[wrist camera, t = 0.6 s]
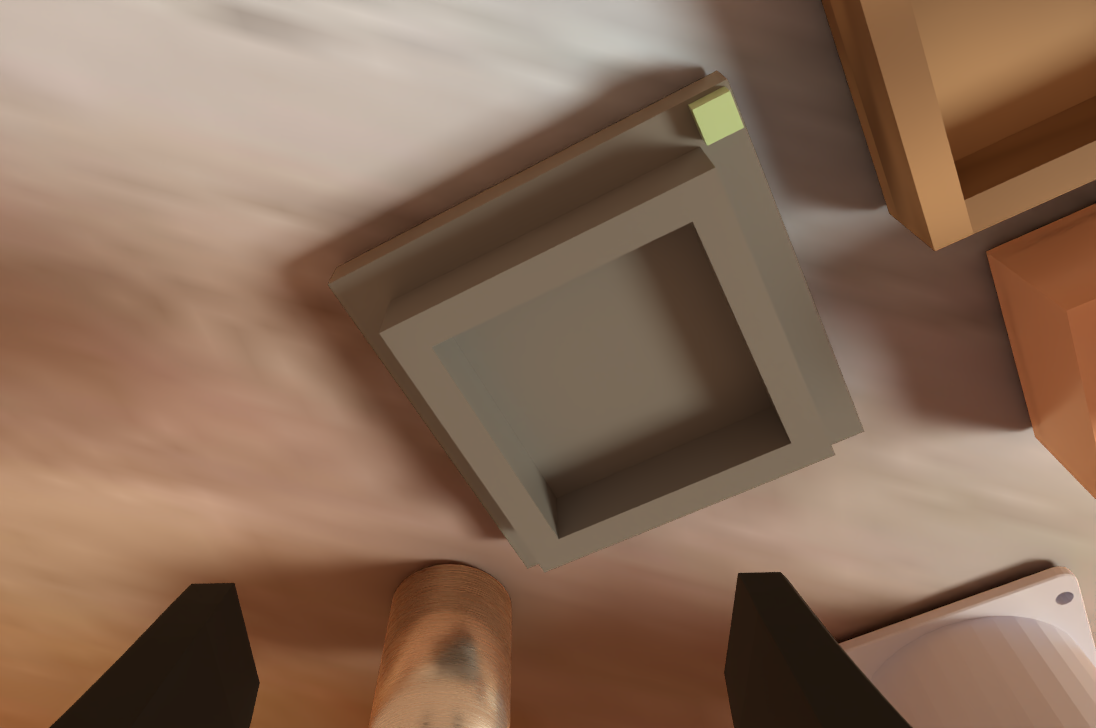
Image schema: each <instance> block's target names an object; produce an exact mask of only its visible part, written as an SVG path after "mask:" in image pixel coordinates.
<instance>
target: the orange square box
mask: <svg viewBox="0 0 1096 728" xmlns="http://www.w3.org/2000/svg"><path fill="white" fill-rule="evenodd" d="M986 253H987V257H988V261H989V265H990V269H991V272H992V276H993V280H994V284H995V287H996V291H997V295H998V299H999V302H1000V306H1001V310H1002V314H1003V318H1004V321H1005V325H1006V329H1007V333H1008V336H1009V340H1010V344H1011V348H1012V352H1013V355H1014V359H1015V363H1016V367H1017V370H1018V374H1019V378H1020V382H1021V386H1022V389H1023V393H1024V397H1025V401H1026V404H1027V408H1028V412H1029V416H1030V419H1031V423H1032V427H1033V431H1034V435H1035V437H1036V438H1037V439H1038V440H1039V441H1040V442H1041V443H1042V445H1043V446H1044V447H1045V448H1046V449H1047V450H1048V451H1049V452H1050V453H1051V454H1052V455H1053V456H1054V457H1055V458H1056V459H1057V460H1058V461H1059V462H1060V463H1061V464H1062V465H1063V466H1064V467H1065V468H1066V469H1067V470H1068V471H1069V472H1070V473H1071V474H1072V475H1073V476H1074V477H1075V478H1076V479H1077V481H1078V482H1079V483H1080V484H1081V485H1082V486H1083V487H1084V488H1085V489H1086V490H1087V491H1088V492H1089V493H1090V494H1091V495H1092V496H1093V497H1094V498H1095V499H1096V204H1093V205H1091V206H1089V207H1086V208H1084V209H1082V210H1080V211H1077V212H1075V213H1073V214H1070V215H1068V216H1066V217H1064V218H1061V219H1059V220H1057V221H1055V222H1052V223H1050V224H1048V225H1045V226H1043V227H1041V228H1039V229H1036V230H1034V231H1032V232H1030V233H1027V234H1025V235H1023V236H1020V237H1018V238H1016V239H1014V240H1011V241H1009V242H1007V243H1005V244H1002V245H1000V246H998V247H995V248H993V249H991V250H989V251H986Z"/></svg>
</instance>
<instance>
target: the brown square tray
mask: <svg viewBox="0 0 1096 728" xmlns="http://www.w3.org/2000/svg"><path fill="white" fill-rule="evenodd" d="M821 1H822V4H823V7H824V10H825V14H826V17H827V20H828V23H829V26H830V29H831V32H832V35H833V39H834V42H835V45H836V48H837V51H838V54H839V57H840V60H841V64H842V67H843V70H844V73H845V76H846V79H847V82H848V86H849V89H850V92H851V95H852V98H853V101H854V104H855V107H856V111H857V114H858V117H859V120H860V123H861V126H862V129H863V132H864V136H865V139H866V142H867V145H868V148H869V151H870V154H871V158H872V161H873V164H874V167H875V170H876V173H877V176H878V179H879V183H880V186H881V189H882V192H883V195H884V198H885V201H886V205H887V208H888V211H889V214H890V215H892V216H893V217H894V218H895V219H896V220H898V221H899V222H900V223H901V224H903V225H904V226H905V227H906V228H907V229H909V230H910V231H911V232H912V233H913V234H915V235H916V236H917V237H918V238H919V239H921V240H922V241H923V242H924V243H925V244H927V245H928V246H929V247H930V248H932V249H933V250H934V251H937V250H939V249H941V248H943V247H946V246H948V245H950V244H952V243H955V242H957V241H959V240H961V239H964V238H966V237H968V236H970V235H973V234H975V233H977V232H979V231H982V230H984V229H986V228H988V227H991V226H993V225H995V224H997V223H1000V222H1002V221H1004V220H1006V219H1009V218H1011V217H1013V216H1015V215H1018V214H1020V213H1022V212H1024V211H1027V210H1029V209H1031V208H1033V207H1036V206H1038V205H1040V204H1042V203H1045V202H1047V201H1049V200H1051V199H1054V198H1056V197H1058V196H1060V195H1063V194H1065V193H1067V192H1069V191H1071V190H1074V189H1076V188H1078V187H1080V186H1083V185H1085V184H1087V183H1089V182H1092V181H1094V180H1096V0H821Z"/></svg>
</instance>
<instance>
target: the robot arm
mask: <svg viewBox="0 0 1096 728" xmlns="http://www.w3.org/2000/svg"><path fill="white" fill-rule="evenodd" d="M724 674H725V679H726V685H727V691H728V696H729V702H730V708H731V713H732V718H733V724H734V728H1096V648H1095V644H1094V640H1093V637H1092V633H1091V629H1090V625H1089V621H1088V617H1087V614H1086V610H1085V606H1084V602H1083V598H1082V594H1081V591H1080V587H1079V583H1078V580H1077V578H1076V577H1075V575H1074V574H1073V573H1072V572H1071V570H1070V569H1068V568H1066V567H1059V566H1058V567H1053V568H1049V569H1047V570H1044V571H1041V572H1038V573H1035V574H1033V575H1030V576H1027V577H1024V578H1021V579H1018V580H1016V581H1013V582H1010V583H1007V584H1004V585H1002V586H999V587H996V588H993V589H990V590H988V591H985V592H982V593H979V594H976V595H974V596H971V597H968V598H965V599H962V600H960V601H957V602H954V603H951V604H948V605H946V606H943V607H940V608H937V609H934V610H932V611H929V612H926V613H923V614H920V615H918V616H915V617H912V618H909V619H906V620H904V621H901V622H898V623H895V624H892V625H889V626H887V627H884V628H881V629H878V630H875V631H873V632H870V633H867V634H864V635H861V636H859V637H856V638H853V639H850V640H847V641H845V642H842V643H839V644H838V642H837V641H836V640H835V639H834V637H833V636H832V635H831V634H830V633H829V631H828V630H827V629H826V628H825V626H824V625H823V624H822V623H821V621H820V620H819V619H818V618H817V616H816V615H815V614H814V613H813V611H812V610H811V609H810V608H809V606H808V605H807V604H806V602H805V601H804V600H803V599H802V597H801V596H800V595H799V593H798V592H797V591H796V590H795V588H794V587H793V586H792V584H791V583H790V582H789V580H788V579H787V578H786V577H785V576H784V575H783V574H782V573H781V572H765V573H738V578H737V585H736V592H735V600H734V607H733V614H732V621H731V628H730V636H729V643H728V650H727V657H726V664H725V671H724ZM259 684H260V682H259V679H258V675H257V671H256V667H255V663H254V659H253V655H252V651H251V647H250V643H249V639H248V635H247V631H246V627H245V623H244V619H243V615H242V611H241V607H240V603H239V599H238V595H237V591H236V587H235V583H215V584H191V585H190V586H189V587H188V588H187V589H186V590H185V591H184V592H183V593H182V594H181V595H180V596H179V597H178V598H177V599H176V600H175V601H174V602H173V603H172V604H171V605H170V606H169V607H168V608H167V609H166V610H165V611H164V612H163V613H162V614H161V615H160V617H159V618H158V619H157V620H156V621H155V622H154V623H153V624H152V625H151V626H150V627H149V628H148V629H147V630H146V631H145V632H144V633H143V634H142V635H141V636H140V637H139V638H138V640H137V641H136V642H135V643H134V644H133V645H132V646H131V647H130V648H129V649H128V650H127V651H126V652H125V653H124V654H123V655H122V656H121V657H120V658H119V659H118V660H117V661H116V662H115V663H114V664H113V665H112V666H111V667H110V668H109V669H108V670H107V671H106V672H105V673H104V674H103V675H102V676H101V677H100V678H99V679H98V680H97V681H96V682H95V683H94V684H93V685H92V686H91V687H90V688H89V689H88V690H87V691H86V692H85V693H84V694H83V695H82V696H81V697H80V698H79V699H78V700H77V701H76V702H75V703H74V704H73V705H72V706H71V707H70V708H69V709H68V710H67V711H66V712H65V713H64V714H63V715H62V716H61V717H60V718H59V719H58V720H57V721H56V722H55V723H54V724H53V725H52V726H50V727H49V728H249V727H250V723H251V719H252V715H253V710H254V706H255V701H256V697H257V692H258V688H259Z"/></svg>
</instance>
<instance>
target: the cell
mask: <svg viewBox="0 0 1096 728" xmlns="http://www.w3.org/2000/svg"><path fill="white" fill-rule="evenodd" d="M511 632H512V604H511V600H510V597H509V595H508V593H507V591H506V590H505V588H504V587H503V586H502V584H501V583H500V582H499V581H497V580H496V579H495V578H494V577H492V576H491V575H489V574H487V573H486V572H484V571H481V570H479V569H476V568H473V567H470V566H465V565H458V564H442V565H435V566H431V567H427V568H424V569H421V570H419V571H417V572H415V573H413V574H412V575H410V576H409V577H407V578H406V579H405V580H404V581H403V582H402V583H401V584H400V585H399V587H398V588H397V590H396V591H395V594H394V596H393V600H392V605H391V610H390V615H389V621H388V626H387V631H386V637H385V642H384V647H383V652H382V658H381V663H380V668H379V674H378V679H377V684H376V690H375V695H374V700H373V705H372V711H371V716H370V721H369V727H368V728H510V696H511Z"/></svg>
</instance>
